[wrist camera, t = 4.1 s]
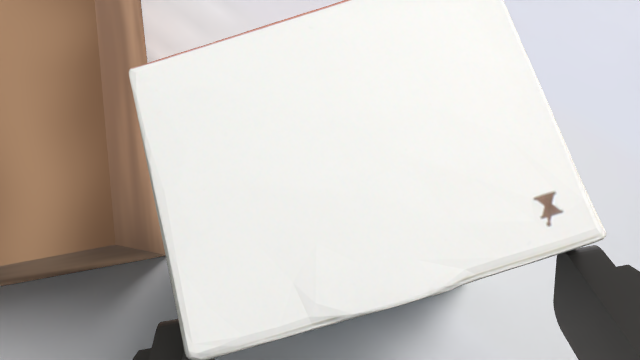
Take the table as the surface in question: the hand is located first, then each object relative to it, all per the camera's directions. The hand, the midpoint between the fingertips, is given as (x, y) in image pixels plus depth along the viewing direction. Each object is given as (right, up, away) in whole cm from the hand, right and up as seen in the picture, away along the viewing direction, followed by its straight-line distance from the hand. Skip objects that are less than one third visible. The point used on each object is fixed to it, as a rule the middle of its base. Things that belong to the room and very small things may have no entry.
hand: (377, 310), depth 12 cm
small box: (+1, +1, +11) cm, 11 cm away
